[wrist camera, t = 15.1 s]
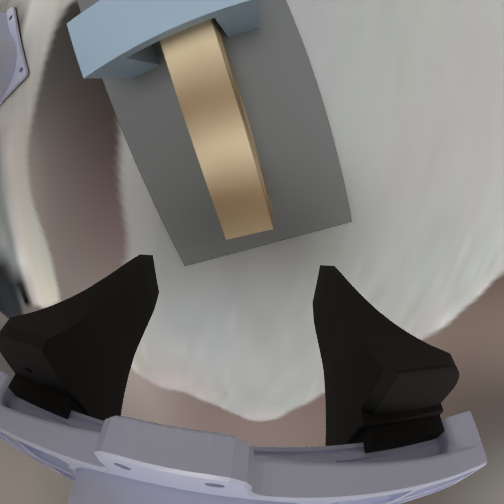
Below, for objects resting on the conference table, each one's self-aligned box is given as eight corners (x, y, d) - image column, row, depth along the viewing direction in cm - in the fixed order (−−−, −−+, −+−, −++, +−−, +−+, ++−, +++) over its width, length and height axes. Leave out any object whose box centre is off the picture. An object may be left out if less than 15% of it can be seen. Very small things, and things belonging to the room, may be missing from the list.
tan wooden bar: (165, 3, 14) (143, -13, 10) (206, -12, 13) (192, -33, 10) (232, 214, 22) (225, 240, 18) (272, 205, 21) (273, 230, 18)
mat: (62, -81, 6) (60, -82, 6) (196, -143, 3) (195, -145, 3) (186, 263, 25) (184, 266, 24) (350, 219, 22) (351, 221, 21)
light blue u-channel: (117, 35, 15) (66, 23, 9) (240, -18, 13) (230, -58, 7) (133, 78, 17) (83, 78, 11) (260, 27, 15) (257, -2, 9)
